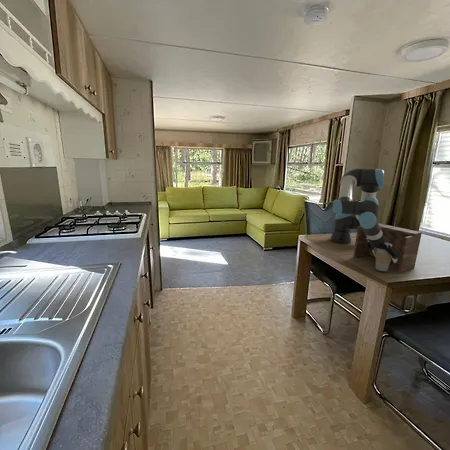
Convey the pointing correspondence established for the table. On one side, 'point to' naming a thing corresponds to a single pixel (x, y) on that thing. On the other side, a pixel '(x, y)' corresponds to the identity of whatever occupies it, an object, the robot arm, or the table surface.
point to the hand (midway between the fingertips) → (386, 258)
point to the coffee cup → (382, 259)
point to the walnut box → (401, 240)
